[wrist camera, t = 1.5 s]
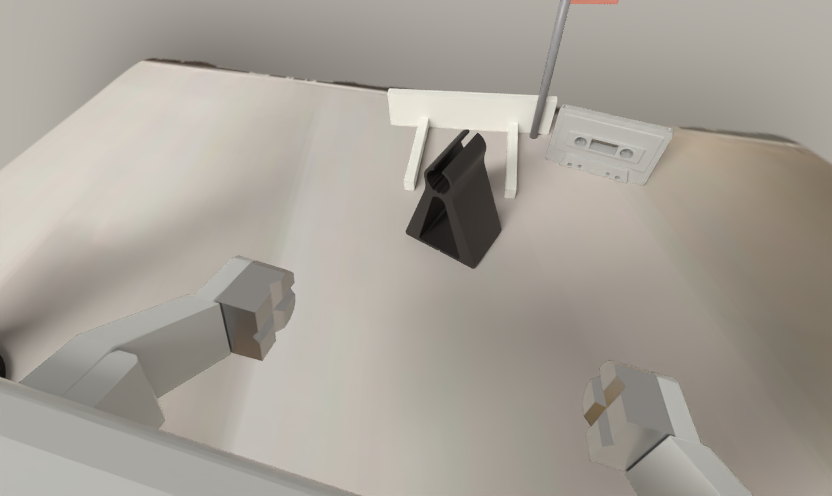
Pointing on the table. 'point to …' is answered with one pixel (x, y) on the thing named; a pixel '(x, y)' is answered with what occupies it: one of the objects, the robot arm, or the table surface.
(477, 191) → the phone stand
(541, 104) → the flag on white base
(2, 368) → the sculpture
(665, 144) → the cassette
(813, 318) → the table surface
